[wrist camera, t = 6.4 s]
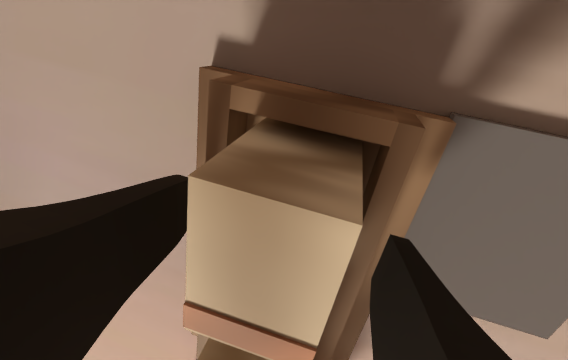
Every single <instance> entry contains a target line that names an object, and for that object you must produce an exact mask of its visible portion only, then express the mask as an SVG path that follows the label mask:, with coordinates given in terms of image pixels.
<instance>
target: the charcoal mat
mask: <svg viewBox="0 0 568 360" xmlns="http://www.w3.org/2000/svg"><path fill="white" fill-rule="evenodd" d="M449 118H450V119H452V120H453V121H454V122H455V123H456V126H455V128H454V130H453V133H452V135H451V137H450V139H449V141H448V143H447V146H446V148H445V150H444V152H443V154H442V157H441V159H440V161H439V163H438V165H437V167H436V170H435V172H434V174H433V176H432V178H431V181H430V183H429V185H428V187H427V189H426V191H425V194H424V196H423V198H422V200H421V202H420V204H419V207H418V209H417V211H416V213H415V215H414V218H413V220H412V222H411V224H410V226H409V228H408V231H407V233H406V235H405V237H404V238H406V239H409V240H410V241H411V242H412V243H413V245H414V246H415V247H416V249H417V250H418V251H419V253H420V254H421V255H422V257H423V258H424V259H425V261H426V262H427V263H428V265H429V266H430V267H431V269H432V270H433V271H434V272H435V274H436V275H437V276H438V278H439V279H440V280H441V281H442V283H443V284H444V285H445V287H446V288H447V289H448V290H449V292H450V293H451V294H452V295H453V296H454V298H455V299H456V300H457V301H458V302H459V304H460V305H461V306H462V307H463V308H464V309H465V310H466V312H467V313H468V314H469V315H470V316H473V317H476V318H480V319H483V320H486V321H489V322H493V323H496V324H499V325H502V326H506V327H509V328H512V329H515V330H519V331H522V332H525V333H528V334H532V335H535V336H538V337H541V338H545V339H548V338H549V337H550V336H551V335H552V334H553V333H554V332H555V331H556V330H557V329H558V328H559V327H560V326H561V325H562V323H563V322H564V321H565V320H566V319H567V318H568V137H564V136H559V135H555V134H550V133H545V132H541V131H536V130H531V129H527V128H522V127H517V126H513V125H508V124H503V123H499V122H494V121H489V120H485V119H480V118H475V117H471V116H466V115H461V114H457V113H452V112H451V114H450V116H449Z"/></svg>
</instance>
